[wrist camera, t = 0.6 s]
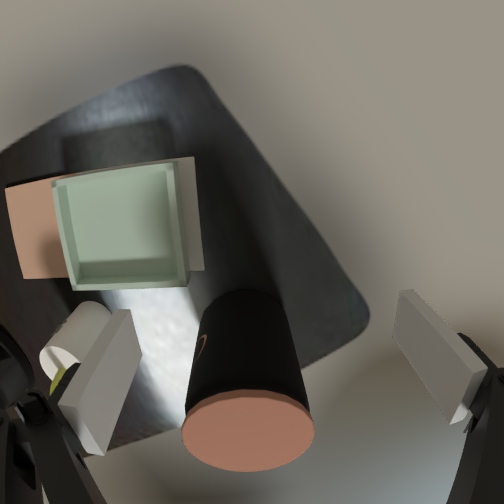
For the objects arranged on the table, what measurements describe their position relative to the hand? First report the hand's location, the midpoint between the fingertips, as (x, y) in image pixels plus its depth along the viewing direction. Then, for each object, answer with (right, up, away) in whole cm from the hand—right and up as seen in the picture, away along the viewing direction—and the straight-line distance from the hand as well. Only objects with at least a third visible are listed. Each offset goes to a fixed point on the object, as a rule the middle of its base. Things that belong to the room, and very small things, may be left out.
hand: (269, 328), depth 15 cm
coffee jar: (-2, -5, +24) cm, 25 cm away
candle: (-22, -6, +24) cm, 33 cm away
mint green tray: (-14, +7, +19) cm, 25 cm away
